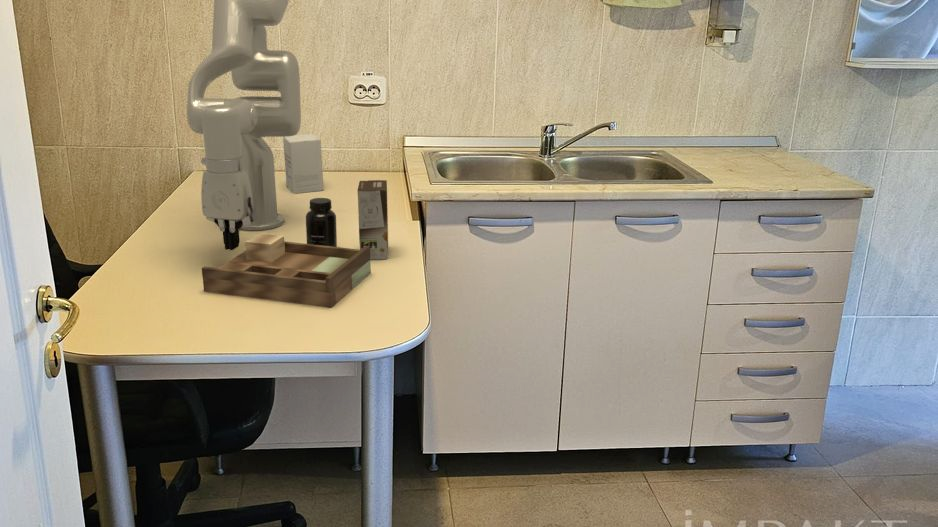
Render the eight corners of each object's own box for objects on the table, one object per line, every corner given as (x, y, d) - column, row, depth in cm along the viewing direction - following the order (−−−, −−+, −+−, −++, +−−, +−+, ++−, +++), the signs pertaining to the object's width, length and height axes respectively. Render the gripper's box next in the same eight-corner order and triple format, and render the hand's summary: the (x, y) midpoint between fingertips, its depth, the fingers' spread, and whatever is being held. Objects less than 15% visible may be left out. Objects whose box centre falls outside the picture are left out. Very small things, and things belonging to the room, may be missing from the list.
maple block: (246, 259, 184) (244, 241, 183) (260, 250, 189) (259, 233, 188) (271, 262, 182) (270, 244, 181) (285, 253, 188) (284, 235, 187)
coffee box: (388, 259, 194) (386, 190, 188) (359, 260, 193) (357, 190, 188) (388, 246, 202) (387, 179, 197) (361, 246, 202) (358, 179, 196)
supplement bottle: (312, 257, 195) (309, 205, 191) (303, 248, 200) (300, 198, 196) (341, 252, 198) (339, 202, 194) (331, 244, 203) (329, 194, 199)
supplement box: (316, 183, 255) (313, 133, 250) (324, 191, 247) (321, 139, 242) (285, 186, 252) (282, 135, 247) (292, 194, 244) (289, 141, 239)
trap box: (203, 291, 175) (201, 263, 173) (253, 259, 193) (251, 233, 191) (331, 307, 168) (330, 278, 166) (370, 272, 186) (369, 246, 184)
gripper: (183, 166, 180) (191, 250, 186) (247, 171, 176) (254, 257, 182) (203, 158, 187) (211, 239, 193) (265, 163, 183) (271, 246, 189)
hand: (232, 247), depth 187 cm, fingers closed
